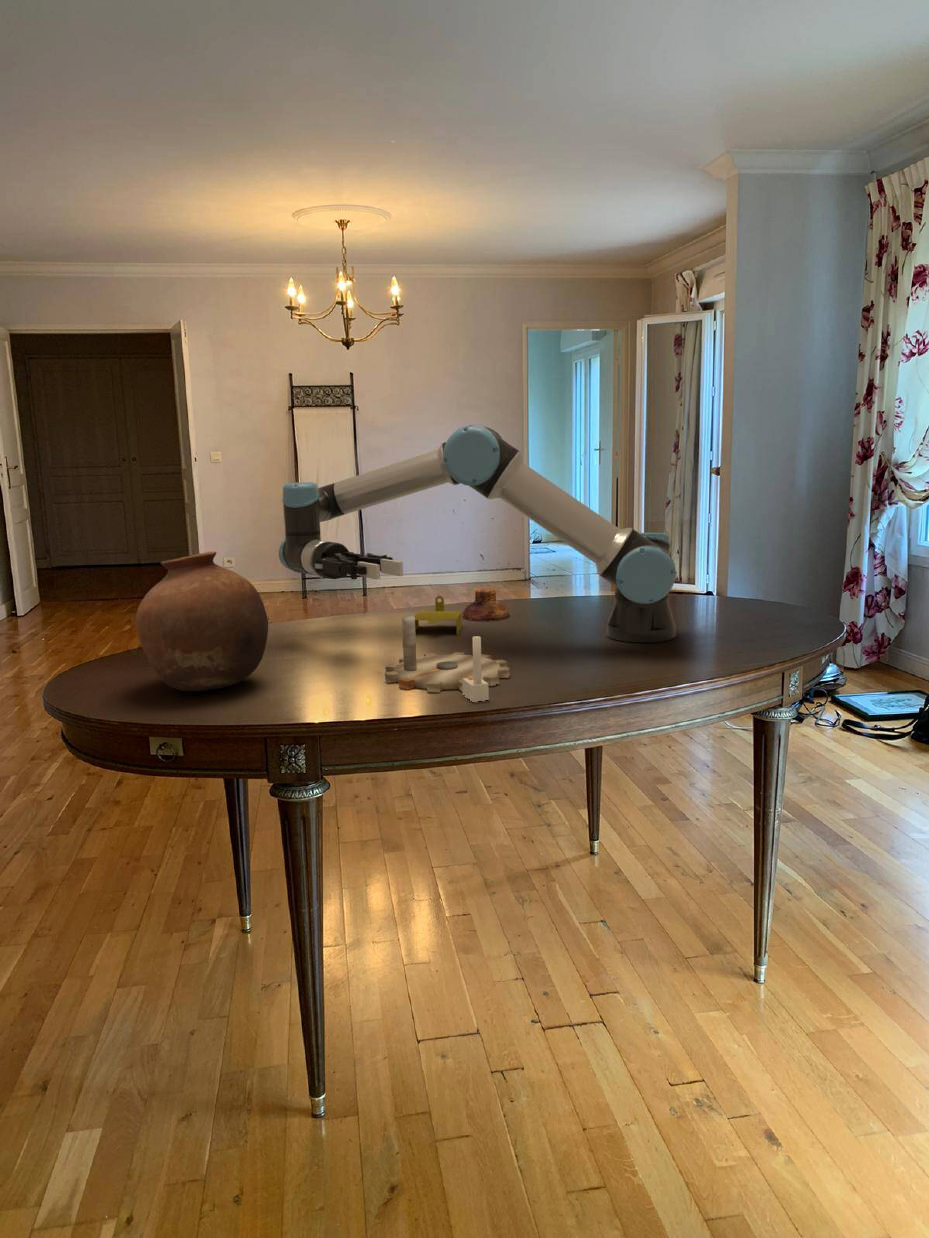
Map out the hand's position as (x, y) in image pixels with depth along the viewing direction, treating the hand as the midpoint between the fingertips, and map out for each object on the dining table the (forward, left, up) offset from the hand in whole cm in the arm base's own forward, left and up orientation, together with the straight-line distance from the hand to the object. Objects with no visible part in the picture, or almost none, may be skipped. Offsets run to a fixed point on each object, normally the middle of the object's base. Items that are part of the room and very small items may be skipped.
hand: (389, 570), depth 165 cm
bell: (+6, -57, -20) cm, 60 cm away
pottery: (+28, +21, -20) cm, 40 cm away
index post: (-22, +9, -20) cm, 31 cm away
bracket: (+10, -36, -21) cm, 43 cm away
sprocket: (-10, -2, -20) cm, 23 cm away
